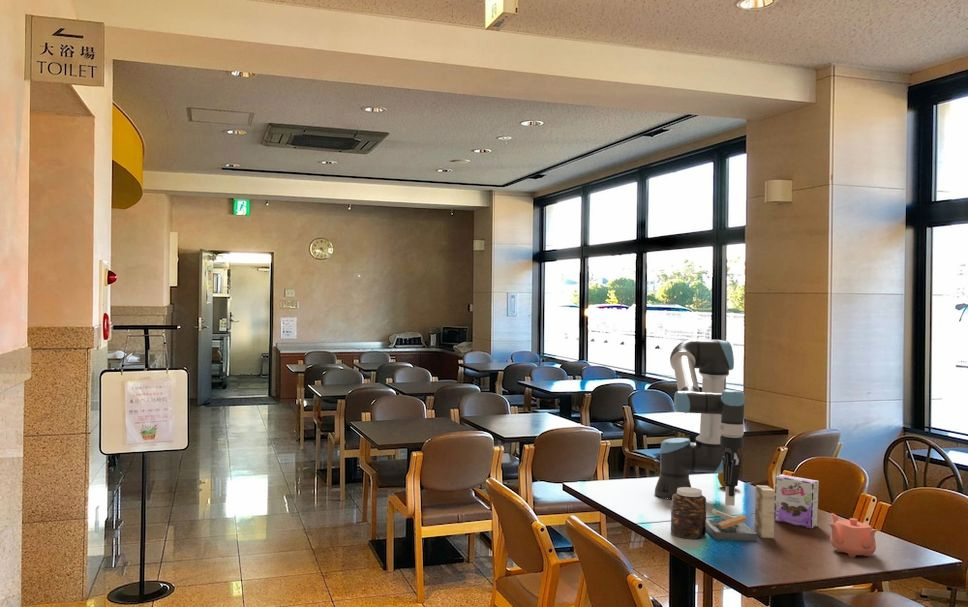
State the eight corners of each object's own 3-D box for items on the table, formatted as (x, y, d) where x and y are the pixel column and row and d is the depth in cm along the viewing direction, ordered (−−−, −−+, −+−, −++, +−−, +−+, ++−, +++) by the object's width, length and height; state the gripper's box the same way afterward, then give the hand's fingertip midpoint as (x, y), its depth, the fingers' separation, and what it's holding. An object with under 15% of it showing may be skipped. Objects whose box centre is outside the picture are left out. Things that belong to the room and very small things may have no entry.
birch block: (754, 531, 266) (755, 485, 266) (765, 531, 266) (767, 485, 266) (761, 537, 259) (763, 490, 259) (773, 538, 259) (775, 490, 259)
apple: (734, 491, 327) (735, 470, 327) (714, 488, 331) (715, 467, 331) (740, 487, 334) (740, 467, 334) (720, 484, 338) (721, 464, 338)
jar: (712, 539, 255) (713, 494, 255) (678, 539, 253) (680, 494, 253) (696, 528, 267) (698, 485, 267) (664, 529, 265) (666, 485, 265)
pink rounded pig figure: (877, 563, 235) (878, 528, 235) (826, 555, 242) (827, 520, 242) (878, 551, 248) (879, 517, 248) (829, 543, 255) (830, 510, 255)
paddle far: (711, 511, 267) (712, 508, 267) (735, 521, 267) (736, 518, 267) (714, 514, 264) (716, 511, 264) (738, 524, 264) (740, 520, 264)
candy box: (773, 520, 281) (774, 475, 281) (779, 517, 285) (781, 473, 285) (811, 529, 272) (813, 482, 272) (817, 526, 276) (819, 480, 276)
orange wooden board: (718, 526, 260) (717, 522, 260) (744, 518, 260) (742, 514, 260) (722, 529, 257) (721, 525, 257) (747, 520, 257) (746, 517, 257)
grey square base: (701, 526, 270) (702, 516, 270) (741, 528, 270) (741, 517, 270) (715, 539, 255) (715, 528, 255) (757, 540, 255) (757, 530, 255)
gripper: (714, 432, 269) (712, 500, 269) (727, 438, 256) (725, 509, 256) (736, 433, 269) (734, 500, 269) (749, 439, 256) (747, 510, 256)
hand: (729, 504), depth 262 cm, fingers closed
